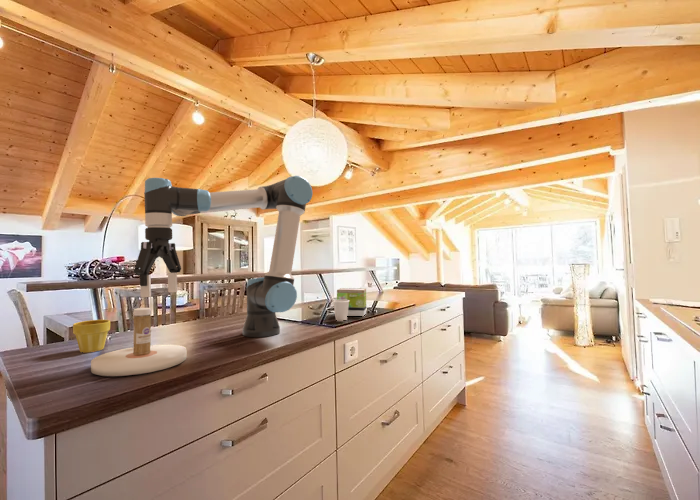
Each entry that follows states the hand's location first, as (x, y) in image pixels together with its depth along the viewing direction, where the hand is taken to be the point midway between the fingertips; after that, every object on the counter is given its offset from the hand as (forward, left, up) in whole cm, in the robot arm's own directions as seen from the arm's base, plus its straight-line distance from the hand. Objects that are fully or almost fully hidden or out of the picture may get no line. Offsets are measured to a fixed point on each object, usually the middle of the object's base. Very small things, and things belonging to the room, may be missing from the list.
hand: (160, 294), depth 109 cm
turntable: (+4, +5, -20) cm, 21 cm away
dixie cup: (-78, -36, -20) cm, 88 cm away
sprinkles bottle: (+4, +5, -17) cm, 18 cm away
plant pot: (+22, -23, -20) cm, 38 cm away
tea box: (-89, -47, -20) cm, 102 cm away
